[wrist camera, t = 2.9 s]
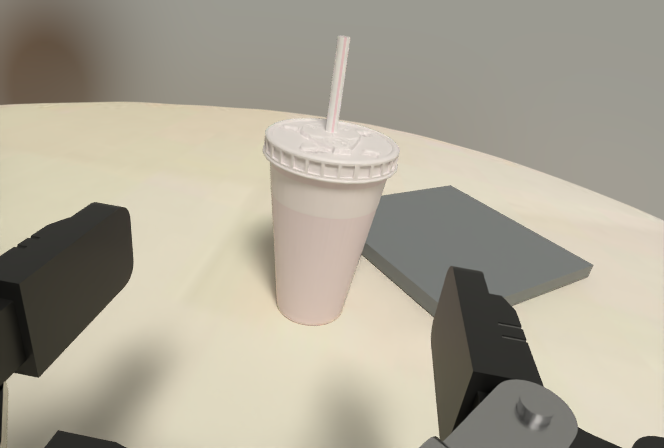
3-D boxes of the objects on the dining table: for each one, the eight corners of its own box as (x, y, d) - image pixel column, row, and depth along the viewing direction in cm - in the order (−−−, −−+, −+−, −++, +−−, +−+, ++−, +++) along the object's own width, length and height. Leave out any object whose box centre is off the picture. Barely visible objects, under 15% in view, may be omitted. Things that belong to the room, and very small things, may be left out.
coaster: (318, 216, 36) (320, 205, 35) (447, 195, 43) (450, 185, 43) (448, 329, 26) (453, 315, 25) (587, 276, 33) (593, 265, 33)
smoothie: (350, 270, 30) (393, 36, 23) (380, 340, 24) (447, 60, 18) (248, 271, 28) (264, 20, 22) (256, 346, 23) (280, 40, 16)
